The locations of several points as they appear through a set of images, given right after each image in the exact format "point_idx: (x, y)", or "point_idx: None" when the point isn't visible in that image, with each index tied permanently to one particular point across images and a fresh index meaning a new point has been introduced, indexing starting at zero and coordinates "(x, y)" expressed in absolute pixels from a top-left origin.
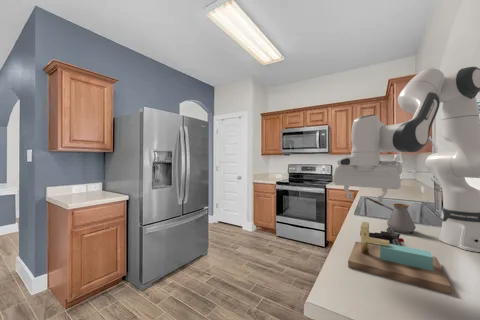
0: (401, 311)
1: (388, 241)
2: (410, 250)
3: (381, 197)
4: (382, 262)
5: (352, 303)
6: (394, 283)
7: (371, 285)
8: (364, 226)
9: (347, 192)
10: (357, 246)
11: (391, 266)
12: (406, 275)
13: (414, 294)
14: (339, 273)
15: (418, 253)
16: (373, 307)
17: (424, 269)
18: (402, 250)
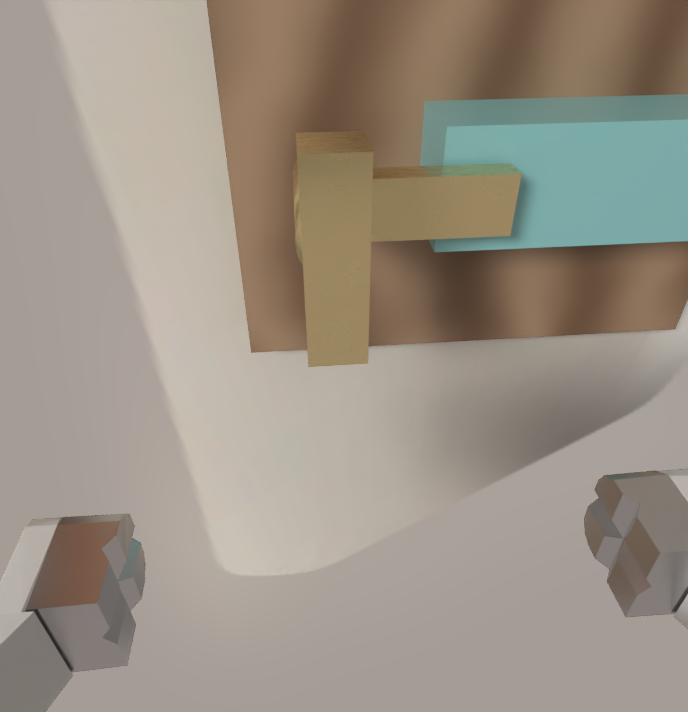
0: (450, 493)
1: (510, 204)
2: (636, 189)
3: (668, 598)
4: (426, 262)
5: (324, 531)
6: (456, 357)
7: (369, 421)
8: (339, 347)
9: (23, 704)
10: (242, 44)
11: (468, 285)
12: (519, 337)
13: (512, 391)
14: (238, 411)
15: (668, 221)
16: (378, 516)
17: None
18: (577, 226)
